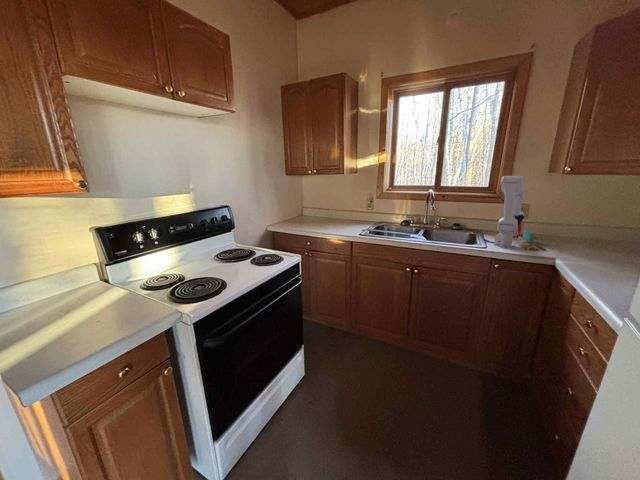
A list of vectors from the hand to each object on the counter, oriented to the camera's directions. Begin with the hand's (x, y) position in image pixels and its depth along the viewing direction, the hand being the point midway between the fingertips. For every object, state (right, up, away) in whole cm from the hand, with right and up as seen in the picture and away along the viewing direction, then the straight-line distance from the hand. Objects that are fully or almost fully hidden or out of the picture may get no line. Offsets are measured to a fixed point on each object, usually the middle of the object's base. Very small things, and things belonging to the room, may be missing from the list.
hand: (512, 226), depth 180 cm
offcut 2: (-5, -14, -19) cm, 24 cm away
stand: (+5, -11, -5) cm, 13 cm away
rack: (-1, -14, -17) cm, 23 cm away
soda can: (+11, -6, +13) cm, 18 cm away
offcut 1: (-4, -13, -14) cm, 20 cm away
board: (+5, -10, -6) cm, 13 cm away
